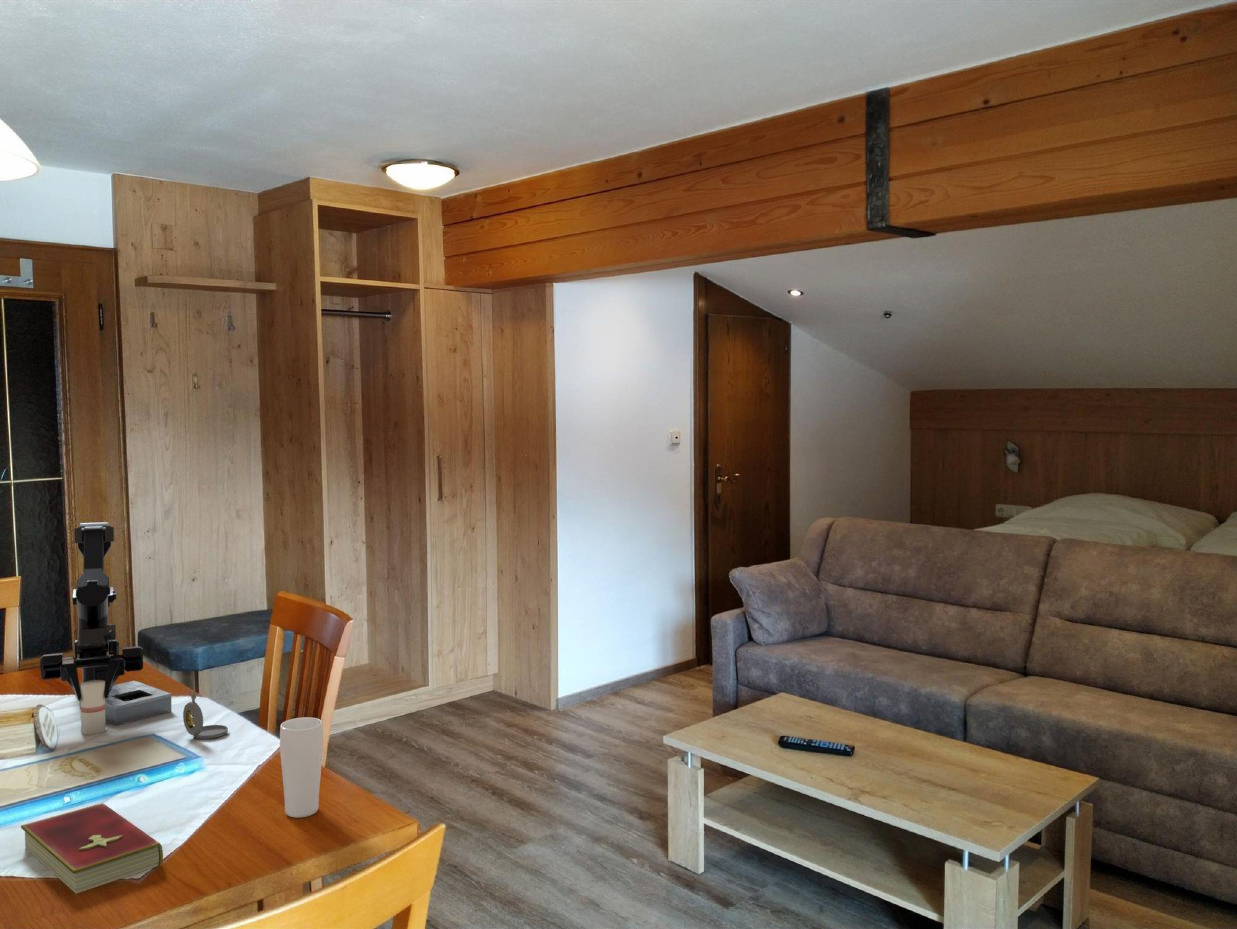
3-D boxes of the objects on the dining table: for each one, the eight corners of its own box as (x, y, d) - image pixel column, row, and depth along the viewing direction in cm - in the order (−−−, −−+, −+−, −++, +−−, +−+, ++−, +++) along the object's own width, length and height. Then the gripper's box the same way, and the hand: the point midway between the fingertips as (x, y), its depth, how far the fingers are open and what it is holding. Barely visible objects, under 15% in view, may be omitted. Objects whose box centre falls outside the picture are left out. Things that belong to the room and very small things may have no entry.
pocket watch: (233, 730, 200) (233, 682, 199) (212, 744, 191) (212, 694, 191) (196, 728, 201) (195, 680, 200) (173, 742, 192) (173, 692, 192)
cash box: (79, 710, 211) (79, 692, 211) (134, 697, 221) (134, 680, 220) (115, 725, 201) (115, 706, 201) (171, 711, 211) (171, 693, 211)
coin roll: (76, 731, 197) (76, 683, 197) (99, 726, 201) (98, 678, 200) (87, 736, 195) (86, 687, 194) (109, 730, 198) (109, 682, 198)
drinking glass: (311, 800, 165) (311, 714, 164) (330, 812, 160) (330, 723, 159) (273, 811, 160) (272, 722, 159) (291, 824, 155) (291, 733, 154)
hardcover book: (105, 825, 155) (105, 800, 154) (163, 868, 141) (162, 840, 141) (21, 850, 146) (20, 823, 145) (74, 899, 132) (73, 869, 132)
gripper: (39, 616, 196) (36, 683, 187) (142, 608, 204) (144, 673, 195) (43, 645, 203) (40, 712, 194) (142, 637, 212) (143, 700, 203)
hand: (92, 698), depth 196 cm, fingers closed on coin roll, 4 cm apart
